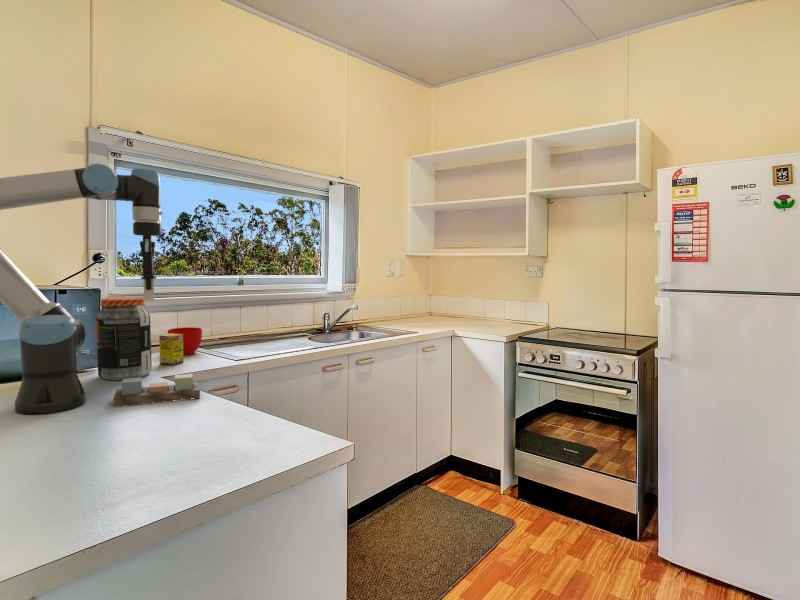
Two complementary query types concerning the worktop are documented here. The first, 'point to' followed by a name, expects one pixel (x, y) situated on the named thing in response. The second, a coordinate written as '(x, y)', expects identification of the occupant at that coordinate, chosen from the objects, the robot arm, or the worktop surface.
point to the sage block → (183, 382)
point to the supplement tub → (123, 339)
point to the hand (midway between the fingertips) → (149, 300)
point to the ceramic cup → (189, 338)
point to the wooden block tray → (156, 395)
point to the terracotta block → (158, 387)
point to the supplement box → (171, 349)
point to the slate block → (131, 386)
